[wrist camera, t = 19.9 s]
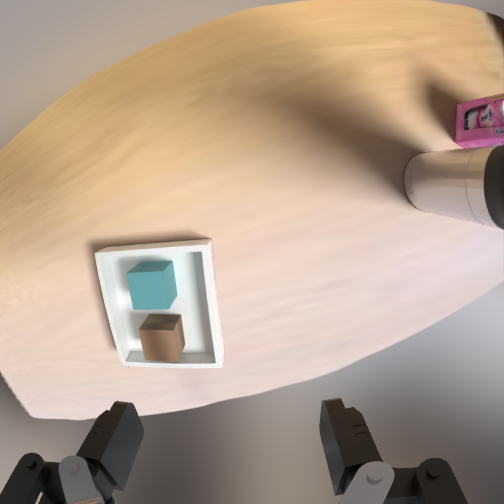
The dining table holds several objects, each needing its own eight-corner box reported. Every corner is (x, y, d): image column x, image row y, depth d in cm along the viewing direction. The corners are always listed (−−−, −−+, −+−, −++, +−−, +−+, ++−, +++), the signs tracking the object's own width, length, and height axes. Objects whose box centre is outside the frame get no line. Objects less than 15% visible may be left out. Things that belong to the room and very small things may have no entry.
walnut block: (181, 314, 40) (173, 330, 35) (185, 343, 41) (178, 361, 36) (149, 313, 40) (138, 329, 35) (154, 342, 41) (145, 360, 36)
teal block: (172, 260, 38) (163, 271, 33) (177, 295, 39) (168, 309, 34) (139, 262, 38) (126, 273, 33) (145, 296, 39) (133, 309, 34)
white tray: (211, 238, 38) (207, 244, 35) (224, 353, 42) (222, 367, 39) (107, 246, 38) (94, 253, 34) (130, 352, 42) (122, 365, 38)
